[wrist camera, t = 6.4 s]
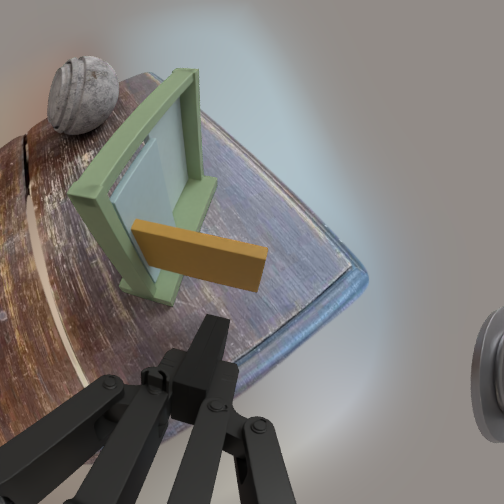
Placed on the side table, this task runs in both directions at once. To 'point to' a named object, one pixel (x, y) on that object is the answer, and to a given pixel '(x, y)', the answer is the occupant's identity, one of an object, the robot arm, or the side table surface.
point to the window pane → (178, 232)
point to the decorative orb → (82, 95)
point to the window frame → (175, 174)
